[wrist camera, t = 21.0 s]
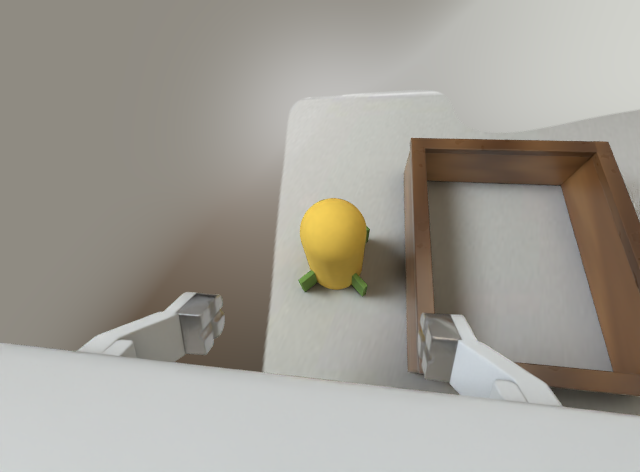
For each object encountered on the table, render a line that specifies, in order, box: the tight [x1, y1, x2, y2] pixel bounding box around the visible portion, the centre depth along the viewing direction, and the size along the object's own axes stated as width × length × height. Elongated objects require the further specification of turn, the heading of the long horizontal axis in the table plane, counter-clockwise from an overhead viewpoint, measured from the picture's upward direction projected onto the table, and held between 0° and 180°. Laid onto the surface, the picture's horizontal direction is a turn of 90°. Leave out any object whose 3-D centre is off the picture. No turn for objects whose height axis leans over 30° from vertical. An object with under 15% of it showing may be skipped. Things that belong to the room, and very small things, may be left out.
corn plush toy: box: [299, 198, 370, 297], centre depth 22 cm, size 5×5×8 cm
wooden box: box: [404, 138, 640, 396], centre depth 23 cm, size 15×18×5 cm
